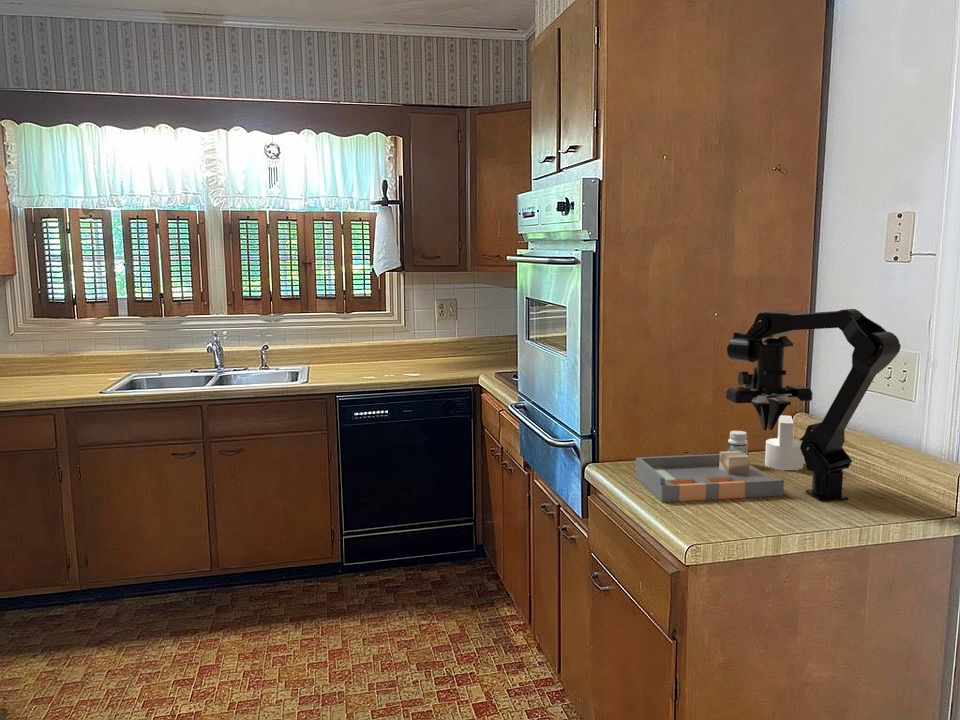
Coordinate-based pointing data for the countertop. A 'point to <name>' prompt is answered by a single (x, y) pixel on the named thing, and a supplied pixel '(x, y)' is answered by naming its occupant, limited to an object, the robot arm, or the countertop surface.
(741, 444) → the pill bottle
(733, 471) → the birch block
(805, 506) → the countertop surface
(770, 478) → the grey tray
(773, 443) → the base with upright slab
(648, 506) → the countertop surface
